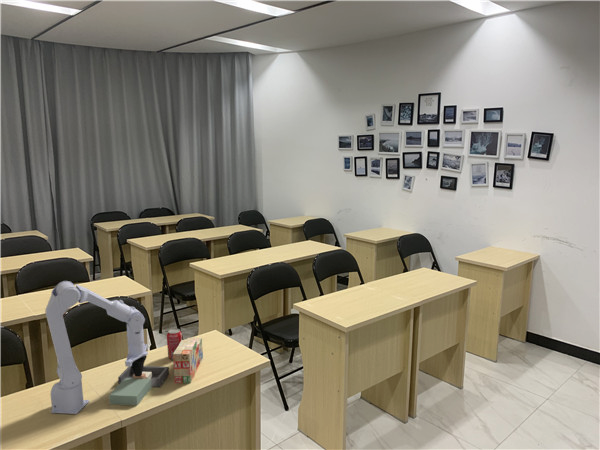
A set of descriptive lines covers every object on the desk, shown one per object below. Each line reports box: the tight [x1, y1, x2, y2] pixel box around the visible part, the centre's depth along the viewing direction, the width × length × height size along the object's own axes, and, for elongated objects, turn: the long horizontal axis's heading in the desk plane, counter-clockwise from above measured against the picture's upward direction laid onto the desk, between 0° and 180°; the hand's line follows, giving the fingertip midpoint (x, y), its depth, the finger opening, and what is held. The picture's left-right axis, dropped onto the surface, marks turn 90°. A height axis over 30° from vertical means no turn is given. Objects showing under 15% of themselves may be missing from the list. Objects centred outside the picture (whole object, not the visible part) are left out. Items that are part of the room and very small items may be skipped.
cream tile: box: [142, 372, 152, 379], centre depth 176 cm, size 4×4×2 cm
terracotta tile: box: [133, 373, 146, 379], centre depth 172 cm, size 4×4×2 cm
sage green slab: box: [108, 378, 153, 406], centre depth 165 cm, size 10×12×4 cm
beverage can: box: [166, 328, 183, 360], centre depth 194 cm, size 6×6×12 cm
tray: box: [117, 365, 170, 388], centre depth 176 cm, size 16×10×3 cm, turn 85°
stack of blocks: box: [172, 337, 204, 384], centre depth 183 cm, size 21×6×12 cm, turn 179°
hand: (138, 375), depth 171 cm, fingers closed
